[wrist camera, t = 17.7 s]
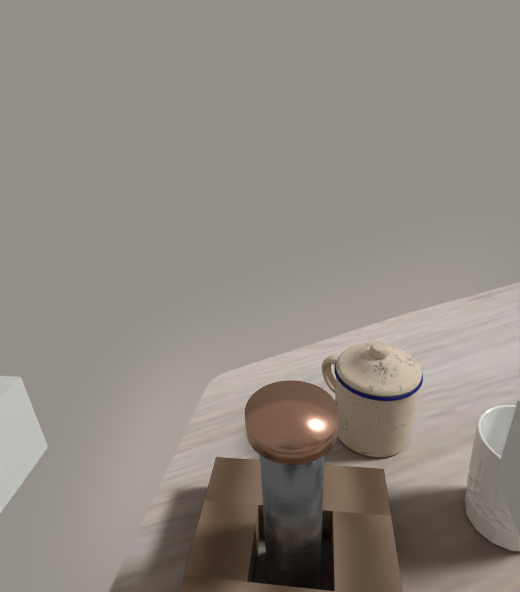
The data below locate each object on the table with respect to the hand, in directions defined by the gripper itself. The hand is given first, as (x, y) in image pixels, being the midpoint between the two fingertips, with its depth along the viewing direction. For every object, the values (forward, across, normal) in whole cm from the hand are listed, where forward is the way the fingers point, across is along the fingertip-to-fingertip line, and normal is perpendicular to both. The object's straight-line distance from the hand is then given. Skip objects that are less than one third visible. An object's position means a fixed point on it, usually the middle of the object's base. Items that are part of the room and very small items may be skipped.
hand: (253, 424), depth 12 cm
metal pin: (+12, 0, -29) cm, 31 cm away
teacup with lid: (+30, +7, -29) cm, 43 cm away
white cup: (+19, +19, -29) cm, 40 cm away
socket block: (+12, 0, -29) cm, 31 cm away
